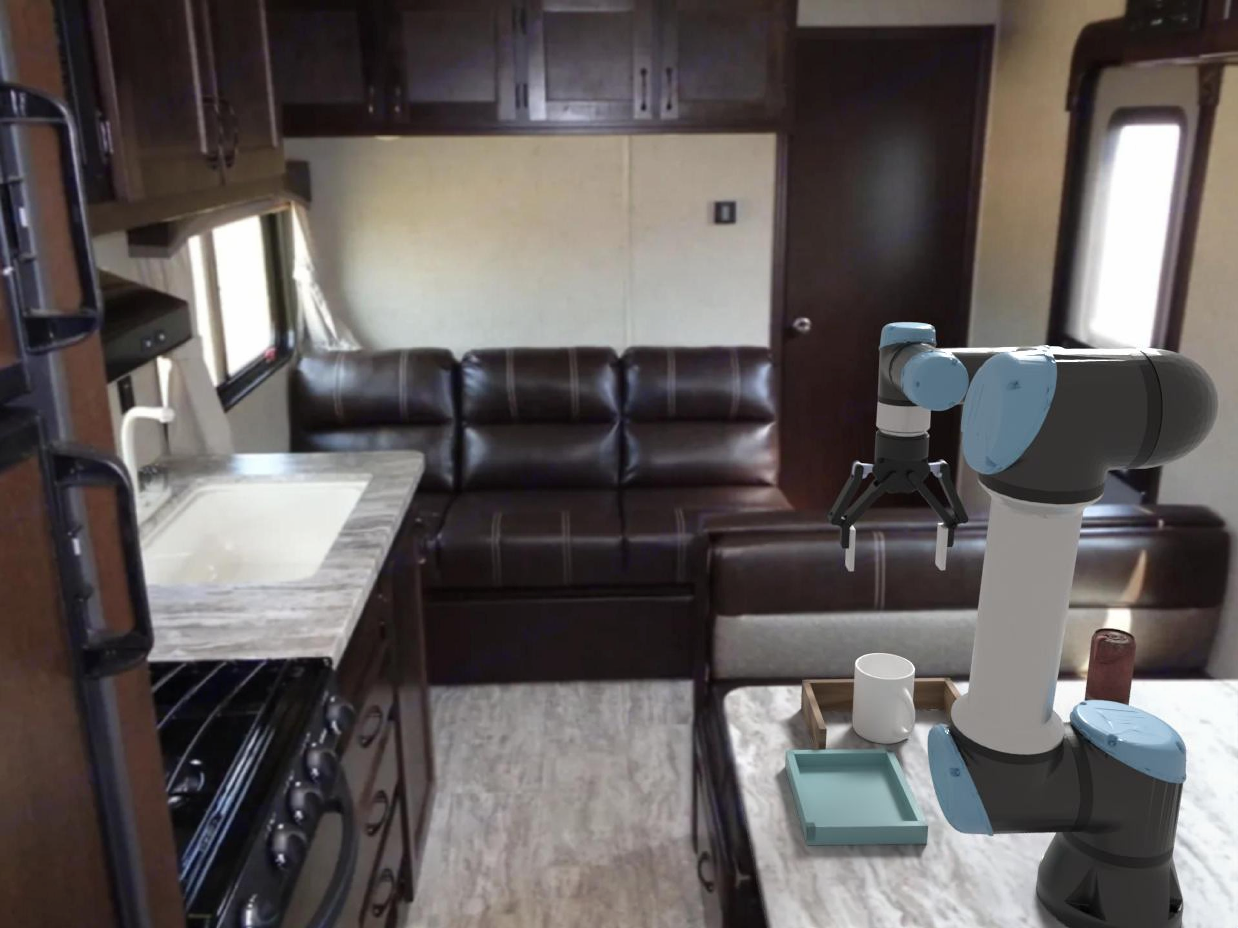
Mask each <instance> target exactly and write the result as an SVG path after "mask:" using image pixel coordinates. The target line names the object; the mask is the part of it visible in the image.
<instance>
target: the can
mask: <svg viewBox="0 0 1238 928" xmlns="http://www.w3.org/2000/svg"><path fill="white" fill-rule="evenodd" d="M1136 650H1137V642H1136V638H1135V636H1134V635H1133V634H1131V633H1130V632H1128V631H1125V630H1123V629H1122V630H1121V629H1118V628H1110V627H1105V628H1104V627H1103V628H1099V629H1096V630H1095V631H1094V633H1093V634H1092V636H1091V640H1090V648H1089V657H1088V667H1087V675H1086V684H1085V693H1084V700H1083V701H1088V700H1104V701H1112V702H1117V703H1121V704H1125V705H1129V706H1130V698H1131V689H1132V681H1133V675H1134V674H1133V673H1134V666H1135V659H1136V653H1137V652H1136Z"/></svg>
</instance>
